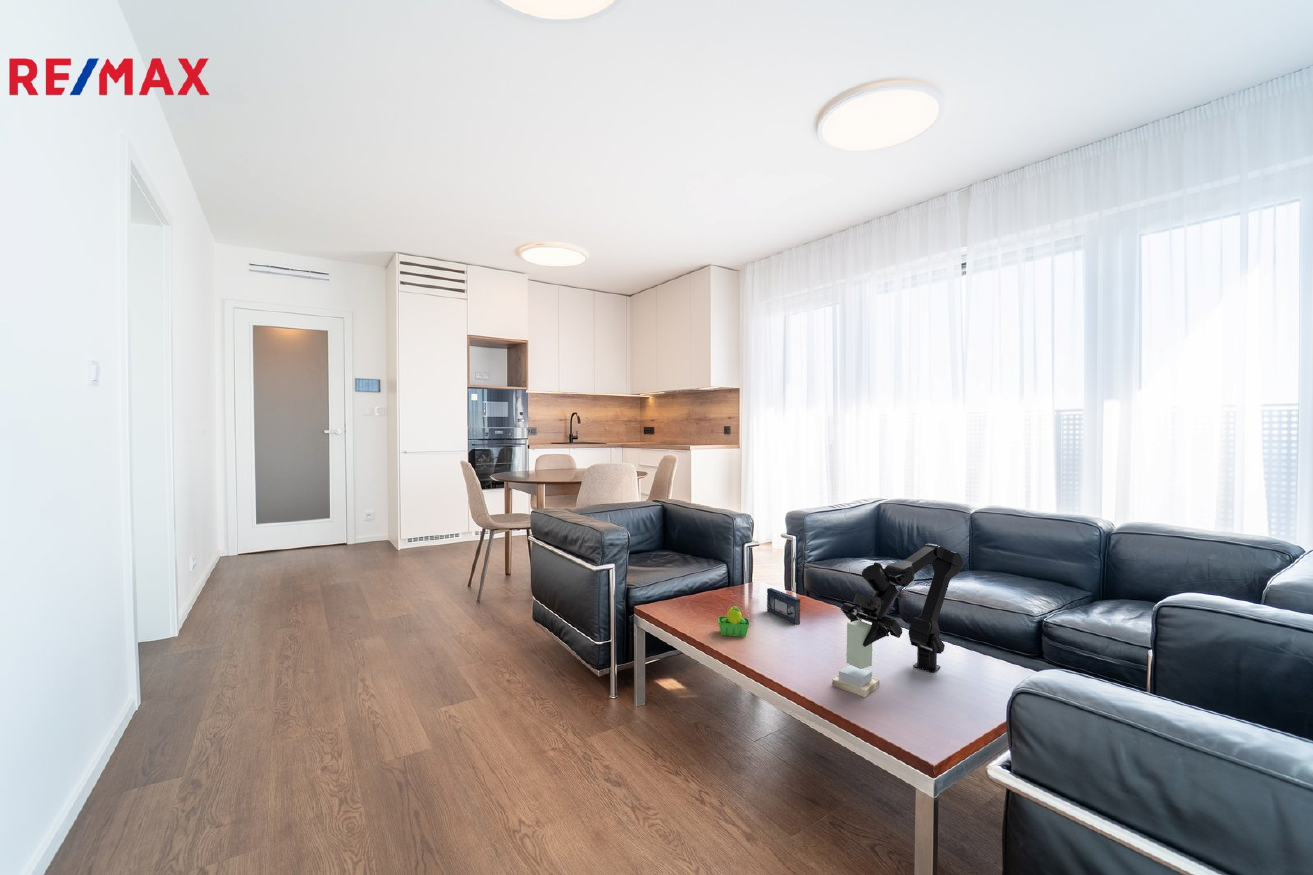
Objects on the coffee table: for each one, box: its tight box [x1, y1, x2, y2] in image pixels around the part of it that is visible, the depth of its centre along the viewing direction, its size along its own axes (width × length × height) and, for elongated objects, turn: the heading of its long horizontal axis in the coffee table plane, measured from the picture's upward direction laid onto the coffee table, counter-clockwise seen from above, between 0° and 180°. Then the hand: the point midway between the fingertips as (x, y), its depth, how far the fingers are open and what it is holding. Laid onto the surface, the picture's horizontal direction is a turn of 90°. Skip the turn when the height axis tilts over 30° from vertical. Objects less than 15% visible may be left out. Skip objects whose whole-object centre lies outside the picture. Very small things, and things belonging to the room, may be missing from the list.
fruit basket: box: [717, 605, 750, 638], centre depth 207 cm, size 11×9×11 cm
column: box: [846, 620, 873, 669], centre depth 164 cm, size 5×5×12 cm
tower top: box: [838, 664, 873, 687], centre depth 165 cm, size 7×7×2 cm
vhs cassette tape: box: [766, 587, 801, 625], centre depth 227 cm, size 18×3×10 cm, turn 25°
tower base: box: [831, 674, 881, 698], centre depth 165 cm, size 10×10×2 cm
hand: (856, 642), depth 164 cm, fingers closed on column, 5 cm apart
